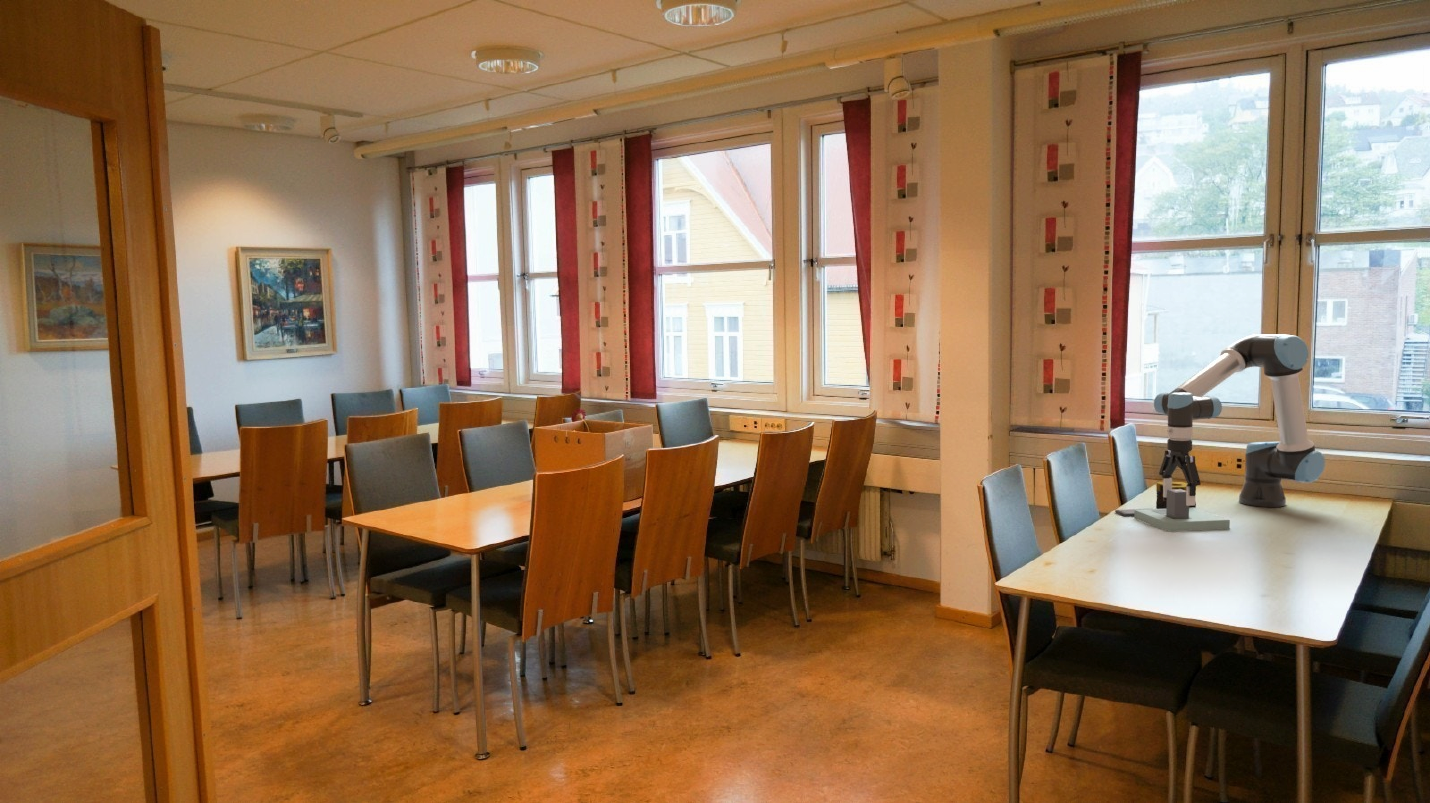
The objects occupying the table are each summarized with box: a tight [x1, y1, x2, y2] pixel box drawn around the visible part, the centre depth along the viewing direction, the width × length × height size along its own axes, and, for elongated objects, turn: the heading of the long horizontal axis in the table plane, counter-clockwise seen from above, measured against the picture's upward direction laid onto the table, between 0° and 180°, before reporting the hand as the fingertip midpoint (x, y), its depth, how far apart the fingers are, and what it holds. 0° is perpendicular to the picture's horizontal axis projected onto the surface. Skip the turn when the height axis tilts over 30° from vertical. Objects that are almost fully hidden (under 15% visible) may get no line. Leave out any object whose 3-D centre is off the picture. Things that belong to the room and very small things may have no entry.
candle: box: [1155, 481, 1197, 509], centre depth 343 cm, size 10×10×10 cm
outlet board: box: [1134, 507, 1231, 532], centre depth 325 cm, size 22×20×3 cm
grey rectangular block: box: [1166, 489, 1189, 519], centre depth 321 cm, size 5×5×12 cm
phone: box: [1114, 508, 1145, 518], centre depth 340 cm, size 14×7×1 cm, turn 95°
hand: (1178, 501), depth 321 cm, fingers open, 13 cm apart
